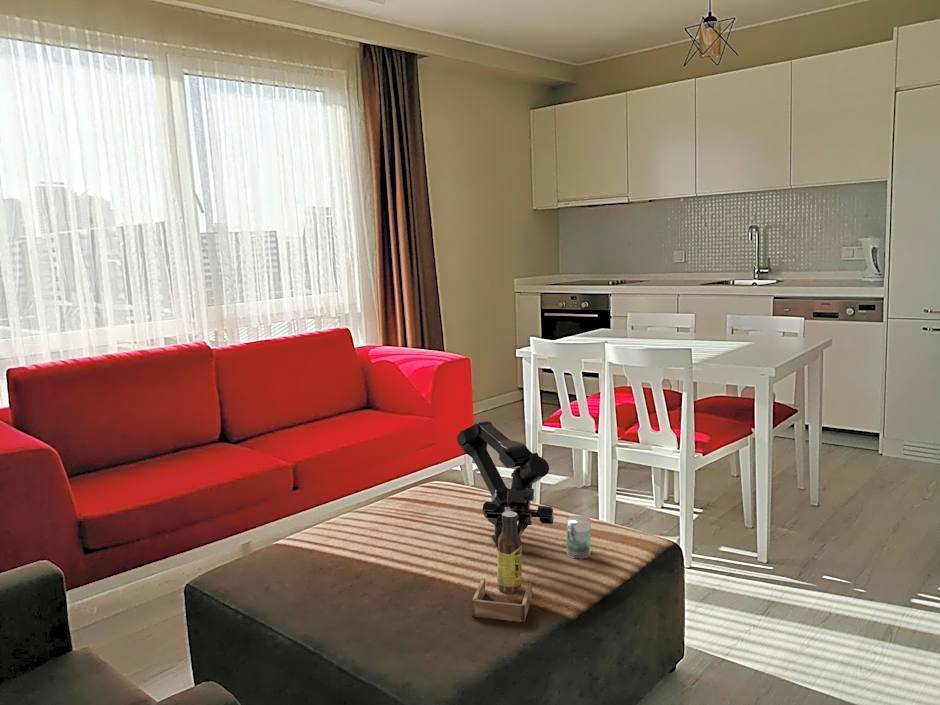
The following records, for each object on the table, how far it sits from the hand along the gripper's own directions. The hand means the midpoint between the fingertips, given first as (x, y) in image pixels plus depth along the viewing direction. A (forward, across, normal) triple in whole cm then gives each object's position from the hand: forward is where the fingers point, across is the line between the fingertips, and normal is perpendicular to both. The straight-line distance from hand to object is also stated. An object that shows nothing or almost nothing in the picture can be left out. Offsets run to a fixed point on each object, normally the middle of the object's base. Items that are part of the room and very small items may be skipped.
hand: (514, 543), depth 207 cm
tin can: (-5, +16, +18) cm, 24 cm away
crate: (+18, 0, -6) cm, 19 cm away
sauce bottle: (+12, 0, +1) cm, 12 cm away
